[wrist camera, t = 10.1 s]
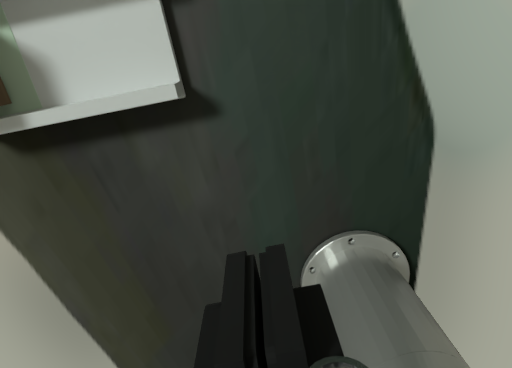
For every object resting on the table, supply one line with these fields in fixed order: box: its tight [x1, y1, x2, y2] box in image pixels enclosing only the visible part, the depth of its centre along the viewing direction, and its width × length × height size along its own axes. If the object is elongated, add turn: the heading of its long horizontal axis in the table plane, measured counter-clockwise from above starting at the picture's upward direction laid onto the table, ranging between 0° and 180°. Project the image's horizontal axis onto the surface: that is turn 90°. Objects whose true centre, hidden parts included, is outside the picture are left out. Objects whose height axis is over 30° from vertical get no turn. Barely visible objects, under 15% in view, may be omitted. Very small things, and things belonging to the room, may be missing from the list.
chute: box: [0, 0, 186, 135], centre depth 30 cm, size 20×12×4 cm, turn 101°
